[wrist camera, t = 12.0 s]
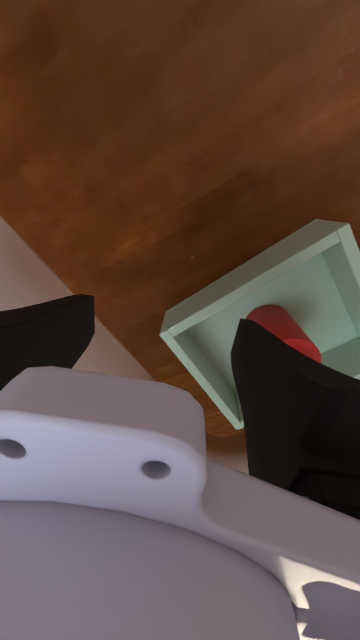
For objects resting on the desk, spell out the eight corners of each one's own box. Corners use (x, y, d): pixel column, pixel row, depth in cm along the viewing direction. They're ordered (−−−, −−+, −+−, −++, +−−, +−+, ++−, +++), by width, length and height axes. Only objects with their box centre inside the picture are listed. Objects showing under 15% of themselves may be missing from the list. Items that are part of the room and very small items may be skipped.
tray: (230, 396, 27) (236, 430, 23) (165, 311, 23) (158, 334, 19) (366, 336, 23) (402, 365, 19) (316, 218, 19) (349, 222, 15)
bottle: (255, 353, 24) (282, 420, 16) (234, 319, 22) (253, 377, 15) (298, 332, 23) (348, 395, 15) (278, 295, 21) (323, 345, 14)
